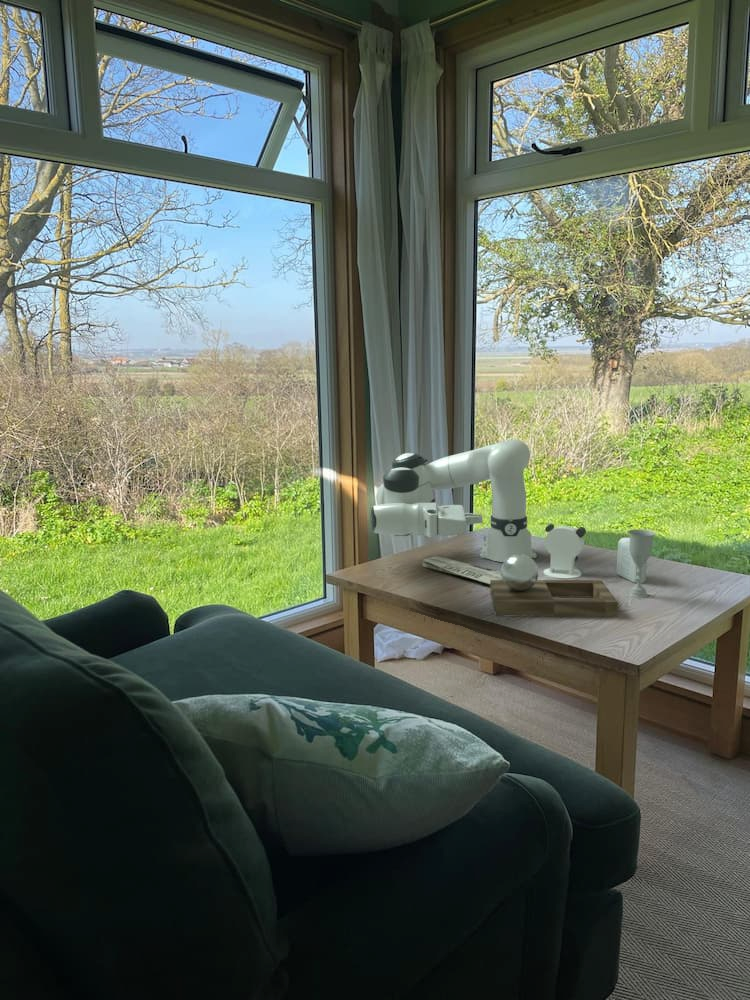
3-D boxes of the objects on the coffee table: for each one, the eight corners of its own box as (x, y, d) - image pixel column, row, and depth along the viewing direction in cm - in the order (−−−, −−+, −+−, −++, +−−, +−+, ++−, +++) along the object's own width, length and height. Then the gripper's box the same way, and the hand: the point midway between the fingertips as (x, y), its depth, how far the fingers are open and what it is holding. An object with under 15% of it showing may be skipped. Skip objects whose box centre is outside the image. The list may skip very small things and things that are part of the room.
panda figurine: (586, 570, 223) (588, 524, 220) (579, 581, 214) (581, 532, 211) (548, 566, 229) (549, 520, 226) (539, 576, 219) (540, 528, 216)
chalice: (619, 592, 203) (622, 531, 199) (638, 589, 205) (642, 528, 201) (637, 600, 196) (640, 536, 192) (657, 597, 198) (660, 534, 195)
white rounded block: (648, 582, 211) (650, 542, 208) (635, 584, 209) (637, 543, 207) (626, 573, 220) (628, 534, 218) (614, 574, 219) (615, 535, 217)
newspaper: (529, 584, 214) (529, 572, 213) (504, 594, 205) (504, 582, 204) (440, 561, 239) (440, 551, 238) (415, 569, 230) (414, 559, 230)
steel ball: (498, 584, 200) (499, 549, 198) (535, 584, 199) (535, 549, 197) (502, 596, 190) (502, 559, 188) (540, 596, 189) (541, 559, 187)
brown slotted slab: (490, 593, 205) (490, 579, 204) (600, 593, 202) (601, 580, 201) (495, 615, 187) (496, 601, 186) (617, 616, 185) (617, 601, 184)
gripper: (430, 521, 203) (479, 521, 202) (430, 539, 183) (484, 539, 182) (430, 499, 202) (479, 499, 201) (430, 515, 182) (485, 515, 181)
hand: (482, 518), depth 191 cm, fingers closed
